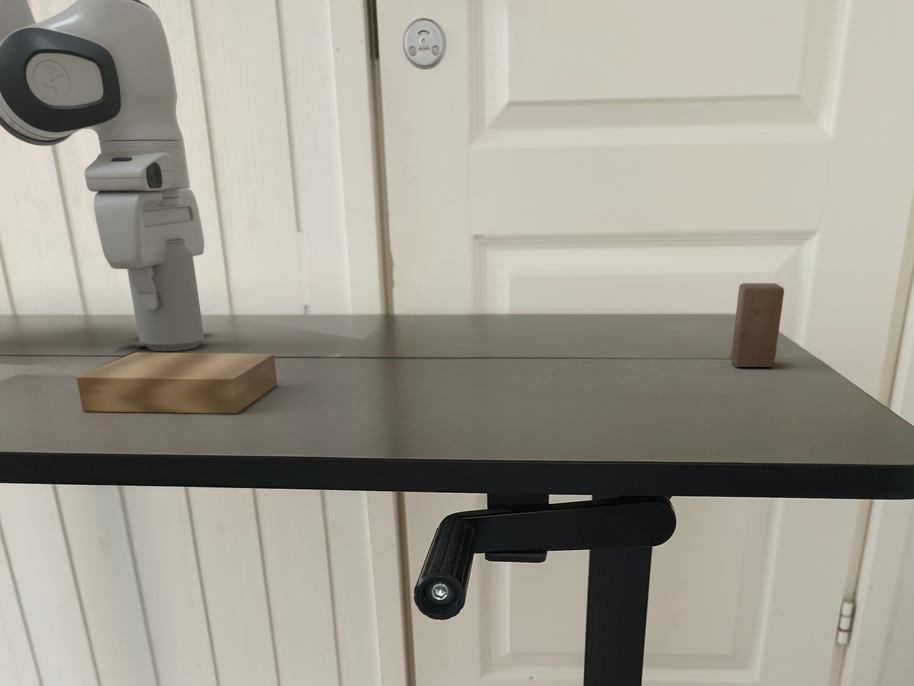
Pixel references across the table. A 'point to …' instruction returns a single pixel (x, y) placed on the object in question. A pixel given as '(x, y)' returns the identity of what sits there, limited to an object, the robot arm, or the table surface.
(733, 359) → the wooden block
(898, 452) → the table surface
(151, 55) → the robot arm
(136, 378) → the stand
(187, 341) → the can
